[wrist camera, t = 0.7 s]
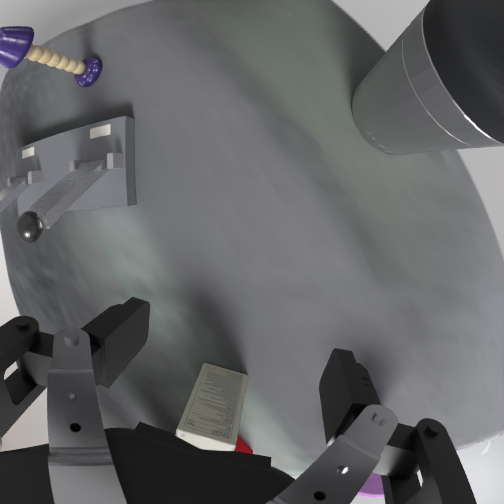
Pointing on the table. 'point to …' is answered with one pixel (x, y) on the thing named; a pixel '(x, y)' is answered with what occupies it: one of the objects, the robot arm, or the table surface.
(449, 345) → the table surface
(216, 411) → the skincare box
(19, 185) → the copper knob lever
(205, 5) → the table surface
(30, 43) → the toy lamp
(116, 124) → the switch panel
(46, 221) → the black knob lever
